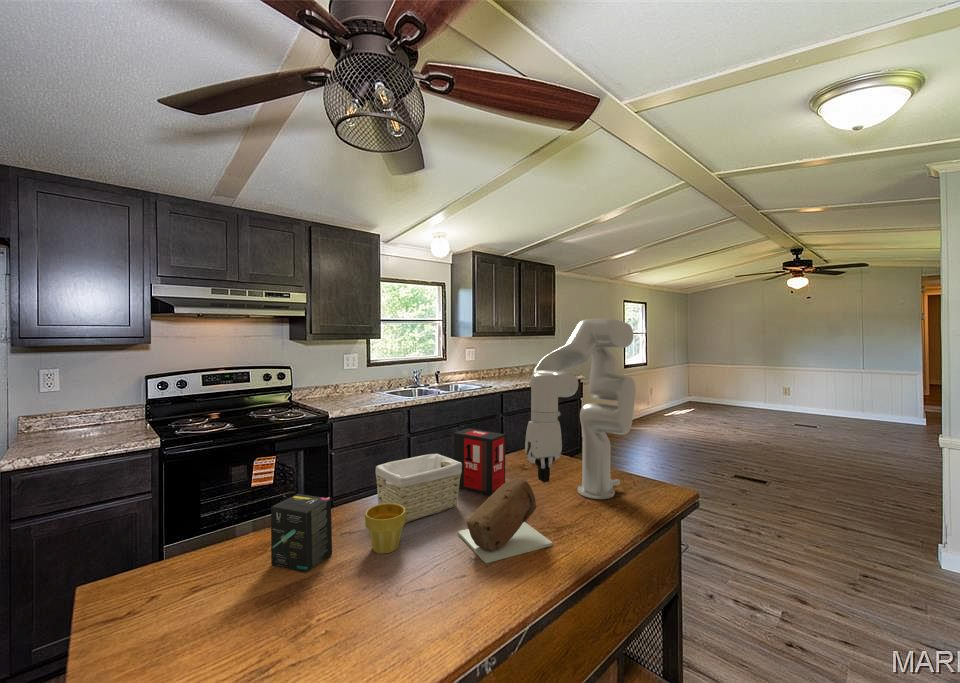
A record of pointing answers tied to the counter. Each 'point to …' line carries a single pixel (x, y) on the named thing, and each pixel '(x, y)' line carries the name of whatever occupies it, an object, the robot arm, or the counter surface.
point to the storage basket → (419, 484)
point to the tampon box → (301, 532)
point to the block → (502, 514)
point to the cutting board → (510, 544)
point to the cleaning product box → (480, 460)
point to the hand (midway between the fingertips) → (543, 480)
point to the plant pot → (385, 526)
